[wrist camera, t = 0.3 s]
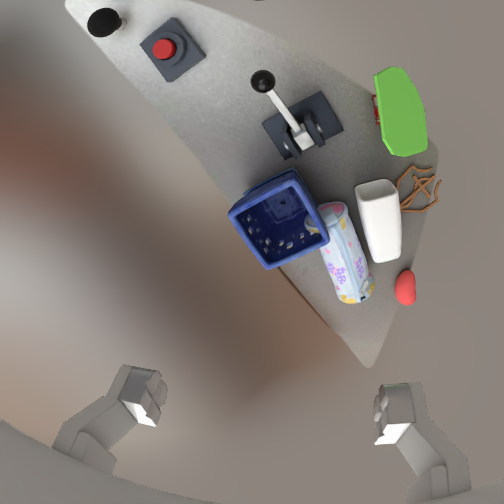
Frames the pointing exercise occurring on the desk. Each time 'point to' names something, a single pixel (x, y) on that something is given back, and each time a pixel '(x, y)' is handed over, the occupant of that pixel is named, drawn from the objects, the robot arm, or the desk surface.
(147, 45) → the control box
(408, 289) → the stress ball
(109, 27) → the light bulb
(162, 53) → the button
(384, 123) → the green stand with toy
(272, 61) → the desk surface
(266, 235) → the flower pot
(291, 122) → the switch lever
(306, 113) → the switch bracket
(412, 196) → the emblem
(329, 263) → the pencil case
